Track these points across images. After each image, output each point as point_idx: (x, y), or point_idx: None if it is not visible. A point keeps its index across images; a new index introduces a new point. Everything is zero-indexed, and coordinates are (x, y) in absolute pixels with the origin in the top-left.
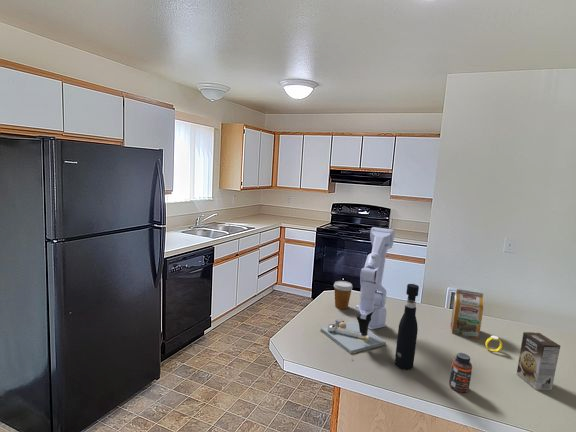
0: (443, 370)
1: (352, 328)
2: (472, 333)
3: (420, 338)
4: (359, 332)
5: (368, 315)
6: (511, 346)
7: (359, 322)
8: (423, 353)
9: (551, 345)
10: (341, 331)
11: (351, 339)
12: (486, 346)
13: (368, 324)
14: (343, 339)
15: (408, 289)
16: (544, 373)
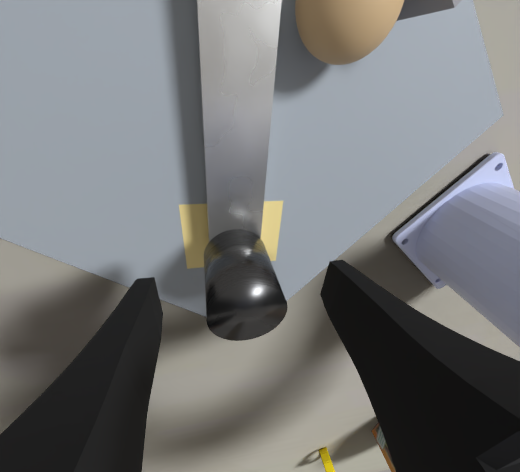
0: (159, 445)
1: (369, 127)
2: (383, 438)
3: (346, 375)
4: (249, 223)
5: (382, 391)
6: (350, 454)
7: (12, 439)
8: (239, 402)
9: None
10: (197, 11)
11: (146, 159)
12: (324, 459)
13: (326, 307)
14: (81, 72)
15: None
16: None
